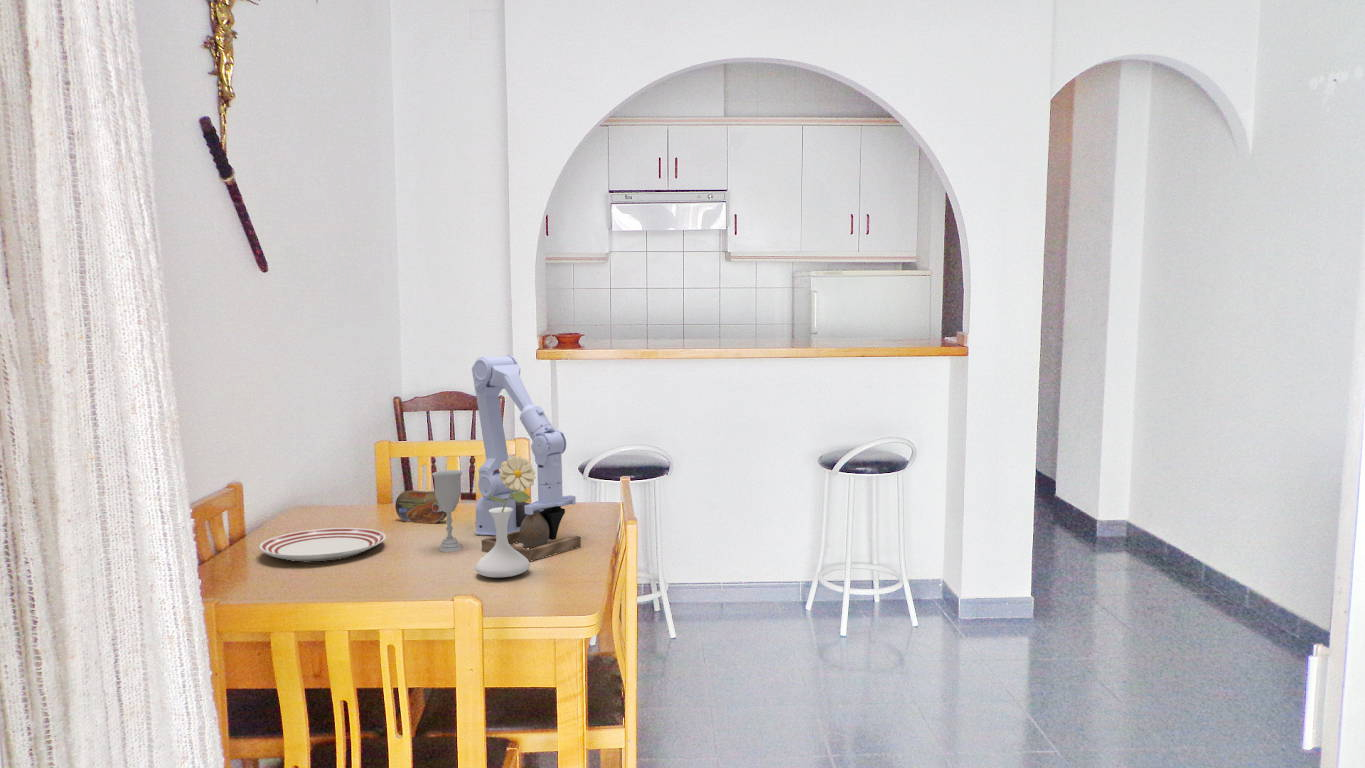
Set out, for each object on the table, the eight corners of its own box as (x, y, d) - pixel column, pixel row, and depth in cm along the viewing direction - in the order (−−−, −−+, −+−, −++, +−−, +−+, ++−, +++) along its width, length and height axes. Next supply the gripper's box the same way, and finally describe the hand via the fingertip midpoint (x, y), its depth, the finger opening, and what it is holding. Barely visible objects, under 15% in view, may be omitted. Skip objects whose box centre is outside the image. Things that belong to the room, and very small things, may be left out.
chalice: (456, 553, 209) (453, 476, 208) (429, 552, 211) (426, 475, 209) (470, 545, 216) (467, 470, 215) (443, 544, 218) (440, 469, 216)
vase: (553, 543, 217) (551, 507, 216) (545, 551, 210) (544, 513, 209) (524, 543, 218) (523, 507, 217) (516, 551, 211) (515, 513, 210)
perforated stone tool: (550, 528, 233) (549, 501, 232) (537, 532, 228) (536, 505, 228) (505, 522, 240) (504, 495, 240) (491, 526, 236) (490, 499, 235)
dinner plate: (334, 533, 232) (334, 520, 231) (411, 546, 218) (410, 532, 217) (233, 559, 208) (233, 545, 208) (312, 576, 194) (311, 560, 194)
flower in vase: (477, 584, 185) (472, 462, 183) (473, 569, 196) (469, 454, 194) (541, 578, 189) (538, 458, 187) (534, 563, 200) (531, 450, 198)
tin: (395, 521, 243) (393, 490, 242) (402, 519, 246) (400, 488, 245) (445, 524, 238) (443, 492, 238) (451, 522, 241) (450, 490, 241)
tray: (529, 562, 201) (528, 551, 201) (481, 550, 212) (481, 540, 211) (580, 547, 213) (580, 536, 213) (533, 536, 224) (533, 526, 224)
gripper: (538, 489, 208) (540, 547, 209) (583, 479, 219) (585, 535, 220) (517, 485, 212) (519, 543, 213) (563, 476, 224) (565, 531, 225)
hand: (551, 539), depth 217 cm, fingers closed
